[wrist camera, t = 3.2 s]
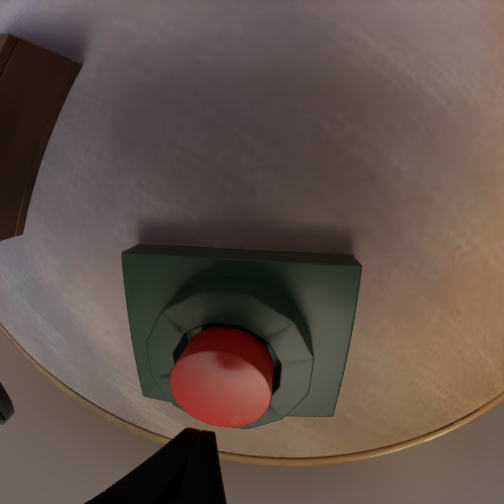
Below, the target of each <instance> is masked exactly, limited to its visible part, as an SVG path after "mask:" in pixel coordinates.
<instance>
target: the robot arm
mask: <svg viewBox="0 0 504 504" xmlns="http://www.w3.org/2000/svg"><path fill="white" fill-rule="evenodd" d="M4 421H5V418H4V416H3V415H2V413H1V412H0V422H4ZM84 504H227V503H226V497H225V492H224V486H223V480H222V474H221V468H220V462H219V455H218V449H217V442H216V435H215V432H213V431H207V430H201V431H200V430H199V429H195V428H189V427H188V428H185V429H184V430H183V431H181V432H180V433H179V434H178V435H177V436H176V437H174V438H173V439H172V440H171V441H169V442H168V443H167V444H166V445H165V446H163V447H162V448H161V449H160V450H158V451H157V452H156V453H155V454H153V455H152V456H151V457H149V458H148V459H147V460H146V461H144V462H143V463H142V464H140V465H139V466H138V467H136V468H135V469H134V470H133V471H131V472H130V473H128V474H127V475H126V476H124V477H123V478H122V479H120V480H119V481H117V482H116V483H115V484H113V485H112V486H110V487H109V488H108V489H106V491H105V492H104V491H103V492H102V493H100V494H99V495H97V496H96V497H94V498H93V499H91V500H89V501H88V502H86V503H84Z"/></svg>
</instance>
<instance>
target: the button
mask: <svg viewBox="0 0 504 504" xmlns="http://www.w3.org/2000/svg"><path fill="white" fill-rule="evenodd" d="M273 374H274V364H273V360H272V357H271V354H270V353H269V351H268V349H267V348H266V347H265V345H264V344H263V343H262V342H261V341H260V340H258V339H257V338H256V337H254V336H253V335H251V334H249V333H247V332H245V331H243V330H240V329H236V328H232V327H213V328H208V329H206V330H203V331H201V332H199V333H197V334H196V335H194V336H193V337H192V338H191V339H190V341H189V342H188V343H187V345H186V347H185V348H184V350H183V352H182V353H181V355H180V357H179V358H178V360H177V362H176V363H175V365H174V367H173V369H172V371H171V374H170V388H171V392H172V394H173V396H174V398H175V400H176V401H177V403H178V404H179V405H180V406H181V407H182V408H183V409H184V410H185V411H186V412H187V413H188V414H190V415H191V416H193V417H194V418H196V419H198V420H200V421H202V422H205V423H207V424H210V425H214V426H220V427H239V426H244V425H247V424H250V423H252V422H254V421H256V420H258V419H259V418H260V417H261V416H263V415H264V413H265V412H266V411H267V409H268V408H269V405H270V403H271V397H272V386H273Z"/></svg>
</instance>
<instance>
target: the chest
mask: <svg viewBox="0 0 504 504" xmlns="http://www.w3.org/2000/svg"><path fill="white" fill-rule="evenodd" d="M81 66H82V65H81V64H79V63H77V62H75V61H73V60H71V59H69V58H66V57H64V56H62V55H60V54H57V53H55V52H53V51H51V50H48V49H46V48H43V47H41V46H39V45H36V44H34V43H31V42H29V41H26V40H24V39H21V38H18V40H17V42H16V44H15V46H14V48H13V50H12V52H11V54H10V56H9V58H8V60H7V62H6V64H5V66H4V68H3V71H2V73H1V75H0V241H1V240H5V239H8V238H12V237H15V236H19V235H22V234H23V229H24V224H25V219H26V214H27V210H28V206H29V201H30V197H31V193H32V190H33V186H34V182H35V179H36V176H37V172H38V169H39V166H40V163H41V160H42V156H43V154H44V151H45V148H46V145H47V142H48V139H49V137H50V134H51V131H52V129H53V126H54V124H55V121H56V119H57V117H58V114H59V112H60V110H61V107H62V105H63V103H64V101H65V98H66V96H67V94H68V92H69V90H70V88H71V86H72V84H73V82H74V80H75V78H76V76H77V74H78V72H79V70H80V68H81Z"/></svg>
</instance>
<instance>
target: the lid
mask: <svg viewBox="0 0 504 504" xmlns="http://www.w3.org/2000/svg"><path fill="white" fill-rule="evenodd" d="M17 40H18V37H16V36H13V35H11V34H0V75H1V73H2V71H3V68H4V66H5V64H6V62H7V60H8V58H9V56H10V54H11V52H12V50H13V48H14V46H15V44H16V42H17Z"/></svg>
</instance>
